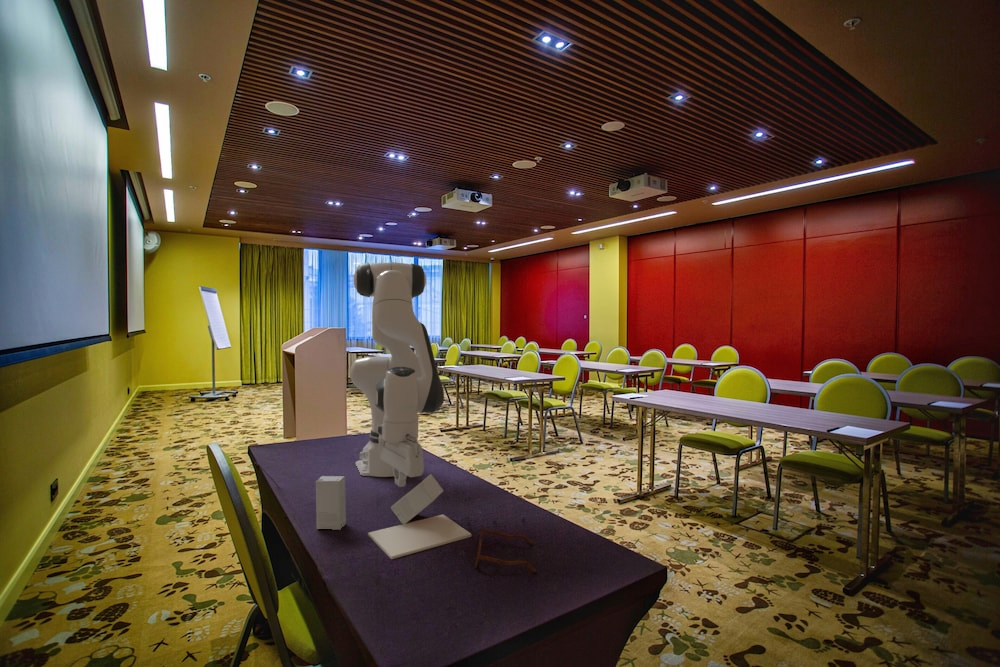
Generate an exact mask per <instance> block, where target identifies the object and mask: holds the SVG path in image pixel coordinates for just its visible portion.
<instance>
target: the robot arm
mask: <svg viewBox="0 0 1000 667" xmlns="http://www.w3.org/2000/svg"><path fill="white" fill-rule="evenodd" d="M353 285H354V288H355V290H356V293H357V294H359V295H360V296H363V297H366V298H370V297H373V299H372V306H371V307H372V308H371V313H372V314H371V327H372V328H371V329H372V330H371V335H372V336H371V337H372V340H373V341H374V343H376V344H377V345H379V346H381V347H383V348H384V349H386V350H388V351H389V354H390V355H391V356H366V357H361V358H357V359H355V361H353V363H352V364H351V366H350V368H349V369H350V370H349V377H350V380H351V382H352V384H353V385H354V386H355V387H356V388H358V389H359V390H360V391H361V392H362V393H363V394H364V396H365V398H366V399H367V401H368V404H369V406H370V412H371V429H370V432H369V441H367V443H366V445H365V446H364V447H363V448H362V451H360V452H359V455H358V456H359V459H360V460H357V461H355V467H356V466H357V467H356V469H357V468H358V469H357V470H359V471H358V472H360V473H359V474H360V476H361V475H362V476H363V477H379V478H387V477H388V478H389V477H394V484H395V485H396V486H398V487H399V488H403V487H406V485H407V478H408V477H409V478H414V477H421V476H422V475H423V474H424V470H425V469H424V468H425V467H424V452H423V447H422V445H421V443H419V442H418V438H419V414H418V413H425V414H434V413H435V412H436V411H437V410H439V409H440V408H441V407H442V406H443V404H444V401H445V390H444V387H443V384H442V380H441V378H440V375H439V372H438V369H437V365H436V359H435V356H434V352H433V348H432V344H431V340H430V337H429V333H428V330H427V328H426V326H425V324H424V323H422V322H420V320H419V319H418V318H417V316H416V314H415V311H414V308H413V306H414V304H413V300H414V299H413V298H416V297H419V296H421V295H422V294H423V293H424V290H425V288H426V285H427V275H426V273H425V270H424V268H423V267H422V265H420V264H416V263H413V262H412V263H411V264H410V263H405V262H404V263H403V262H396V261H395V262H393V261H390V262H376V263H374V262H373V263H370V262H365V263H361V264H359V265H358V266H357V267H356V269H355V271H354V274H353ZM411 347H412V348H413V349H414V350H415V352H414V351H413V349H412V348H411ZM362 476H361V477H362Z"/></svg>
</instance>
